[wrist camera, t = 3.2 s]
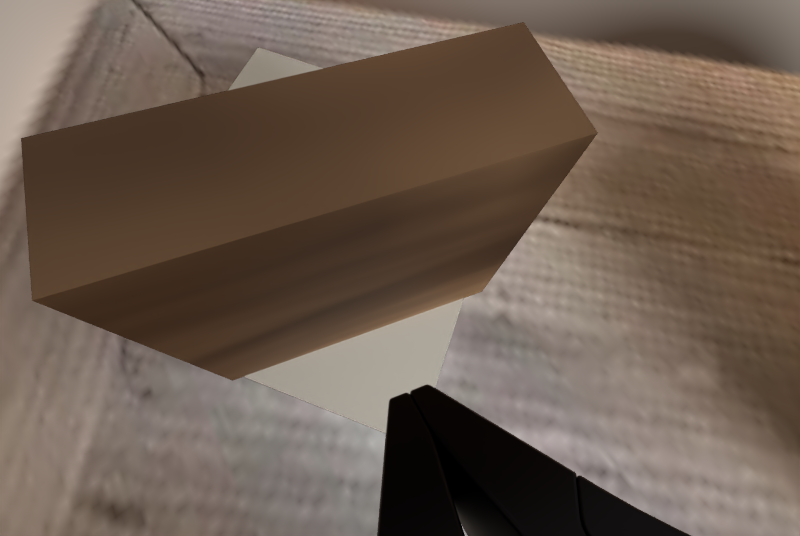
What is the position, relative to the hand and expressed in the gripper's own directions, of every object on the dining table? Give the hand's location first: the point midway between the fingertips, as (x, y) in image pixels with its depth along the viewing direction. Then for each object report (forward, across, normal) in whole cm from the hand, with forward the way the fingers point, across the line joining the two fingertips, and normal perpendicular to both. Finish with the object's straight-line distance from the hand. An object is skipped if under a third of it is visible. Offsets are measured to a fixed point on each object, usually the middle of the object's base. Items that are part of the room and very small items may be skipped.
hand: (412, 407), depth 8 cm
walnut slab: (+8, 0, +1) cm, 8 cm away
